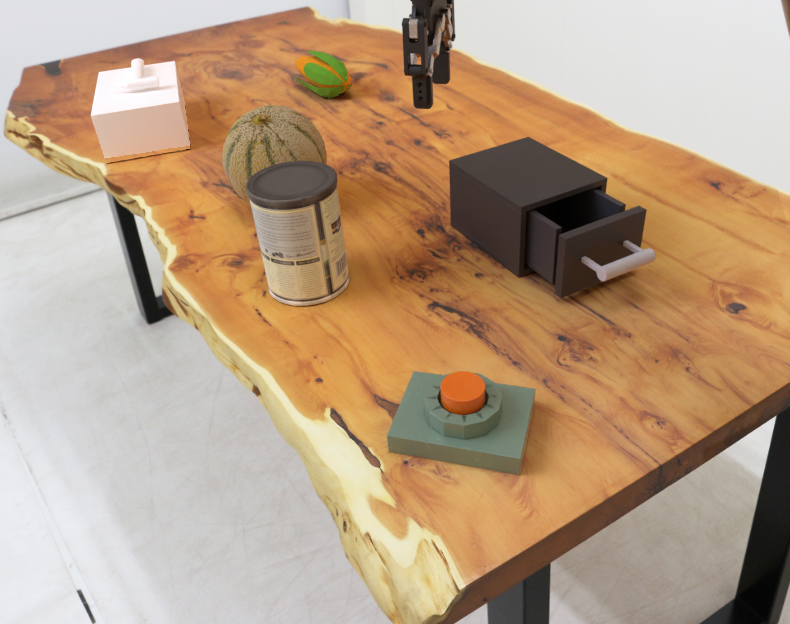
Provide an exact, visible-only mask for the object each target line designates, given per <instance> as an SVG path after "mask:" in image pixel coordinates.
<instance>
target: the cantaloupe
mask: <svg viewBox="0 0 790 624" xmlns="http://www.w3.org/2000/svg"><path fill="white" fill-rule="evenodd" d="M327 155H328V154H327V148H326V144H325V140H324V139H323V136H322V134H321V132H320V131H319V129H317V127H316V125H315V123H313V122H312V121H311V120H310V119H309V118H308V117H306V115H304V114H303V113H302V112H300V111H299V110H297V109H294V108H291V107H289V106H285V105H275V104H273V105H272V104H268V105H262V106H259V107H257V108H254V109H251V110H249V111H247V112H245V113H244V114H242V115H241V116H240V117H239V118H237V119H236V120H235V122H234V123H233V124H232V126H231V127H230V129H229V131H228V133H227V136H226V138H225V141H224V143H223V146H222V155H221V159H222V161H221V164H222V168H223V171H224V174H225V178H226V179H227V181H228V183H229V185H230V186H231V188H232V189H233V190H234V191H235V193H236V194H237V195H238V196H239V198H241V199H242V200H244V201H245V202H246V203H248V204H249V205H251V204H250V200H249V196H248V194H247V191H246V183H247V181H248V180H249V178H250V177H251V176H253V175H254V174H255V173H257V172H258V171H260V170H262V169H265V168H267V167H269V166H272V165H276V164H279V163H284V162H290V161H315V162H320V163H324V164H327V165H328V161H327V160H328V156H327Z"/></svg>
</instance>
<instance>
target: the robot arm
mask: <svg viewBox="0 0 790 624" xmlns="http://www.w3.org/2000/svg"><path fill="white" fill-rule="evenodd" d="M409 1H410V2H411V4H412V5H411V13H409V14H408V17H402V19H401V20H402V21H401V29H402V34H401V35H402V52H403V53H402V56H403V73H404V74H403V75H404V76H407V77H411V85H412V102H413V104H412V105H413V107H414V108H415V109H418V110H430V109H431V108H433V105H434V84H435V85H447V84H449V83H450V81H451V51H452V49H453V42H455V40H456V35H457V34H456V24H455V23H456V19H455V0H409ZM780 3H781V8H782V13H783V17H784V20H785V25H786V29H787V34H788V37H789V39H790V0H780ZM419 58H420V64H417V63H418V59H419Z"/></svg>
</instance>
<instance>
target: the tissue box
mask: <svg viewBox="0 0 790 624" xmlns="http://www.w3.org/2000/svg"><path fill="white" fill-rule="evenodd" d="M130 64H131V65H130V67H123V68H117V69H110V70H103V71H99V72H98V74H97V79H96V85H95V91H94V95H93V100H92V107H91V111H90V118H91V121H92V124H93V129H94V131H95V133H96V137H97V140H98V142H99V146H100V148H101V152H102V156H103V157H104V159H105V158H111V157H119V156H124V155H132V154H140V153H146V152H152V151H159V150H162V149H168V148H177V147H185V146H190V144H191V139H190V140H189V137H190V131H189V132H188V129H189V123H188V124H187V121H188V115H187V116H186V113H187V108H186V109H185V105H186V101H184V100H185V96H184V92H183V89H182V85H181V81H180V76H179V73H178V72H179V71H178V68H177V64H176V60H172V61H171V60H170V61H164V62H159V63H158V62H157V63H152V64H145V60H144V59H142V58H138V57H137V58H134V59H131V61H130Z"/></svg>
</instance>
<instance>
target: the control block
mask: <svg viewBox="0 0 790 624" xmlns="http://www.w3.org/2000/svg"><path fill="white" fill-rule="evenodd" d="M451 373H452V372H451ZM451 373H445V374H438V373H431V372H425V371H417V370H413V372H412V373H411V377H410V379H409V381H408V383H407V386H406V388H405V391H404V393H403V396H402V398H401V400H400V403H399V406H398V408H397V410H396V413H395V415H394V418H393V419H392V422H391V425H390V427H389V429H388V432H387V434H386V441H387V449H388V453H394V454H399V455H404V456H410V457H415V458H421V459H426V460H431V461H432V460H433V461H438V462H444V463H447V464H448V463H450V464H453V465H459V466H465V467H471V468H477V469H482V470H487V471H493V472H499V473H503V474H509V475H516V476H521V473H522V469H523V468H522V467H523V464H524V460H525V459H524V458H525V454H526V449H527V444H528V439H529V435H530V430H531V424H532V420H533V415H534V410H535V405H536V390H537V389H536V388H532V387H528V386H520V385H515V384H514V385H513V384H506V383H499V382H495V381H493V380H492V379H490V378H488V377H486V376H485V375H483V374H482V373H477V372H473V373H474V374H477V375H478V376H480V377H481V378H482V379H483V381H484V383H485V404H484V406H483V407H482V408H481V409H480V410H479V411H478V412H476V413H473V414H469V415H458V414H453V413H450V412H449V411H447V410H446V409H445V408H444V407H443V405H442V403H441V390H440V385H441V382H442V380H443V379H444V378H445V377H446V376H447V375H449V374H451Z"/></svg>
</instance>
